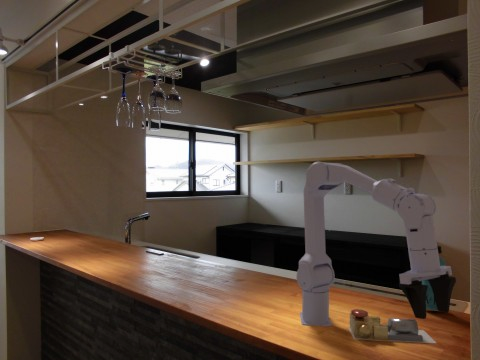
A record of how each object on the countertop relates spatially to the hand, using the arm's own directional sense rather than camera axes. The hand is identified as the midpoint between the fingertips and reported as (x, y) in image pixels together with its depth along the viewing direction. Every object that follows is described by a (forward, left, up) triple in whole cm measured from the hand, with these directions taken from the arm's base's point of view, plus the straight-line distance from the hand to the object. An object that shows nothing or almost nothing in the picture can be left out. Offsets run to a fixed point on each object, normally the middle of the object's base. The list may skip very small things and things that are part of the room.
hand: (432, 314), depth 77 cm
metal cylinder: (-14, -1, -10) cm, 17 cm away
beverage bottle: (-34, +14, -11) cm, 38 cm away
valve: (-14, -10, -10) cm, 20 cm away
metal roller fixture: (-14, -5, -10) cm, 18 cm away
